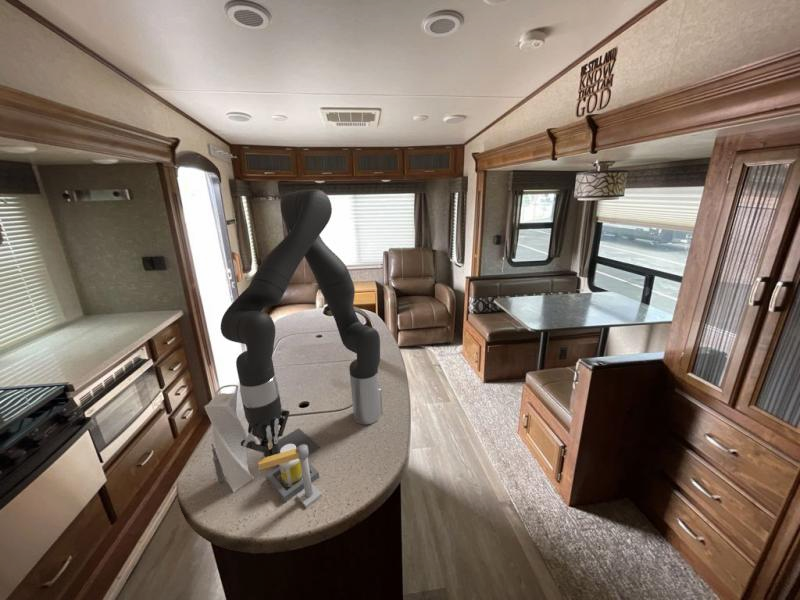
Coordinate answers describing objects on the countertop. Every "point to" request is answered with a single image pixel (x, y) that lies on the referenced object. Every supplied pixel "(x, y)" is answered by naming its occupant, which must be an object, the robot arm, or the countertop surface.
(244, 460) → the skyscraper
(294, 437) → the mat
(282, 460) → the yellow lever
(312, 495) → the socket
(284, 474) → the supplement bottle
